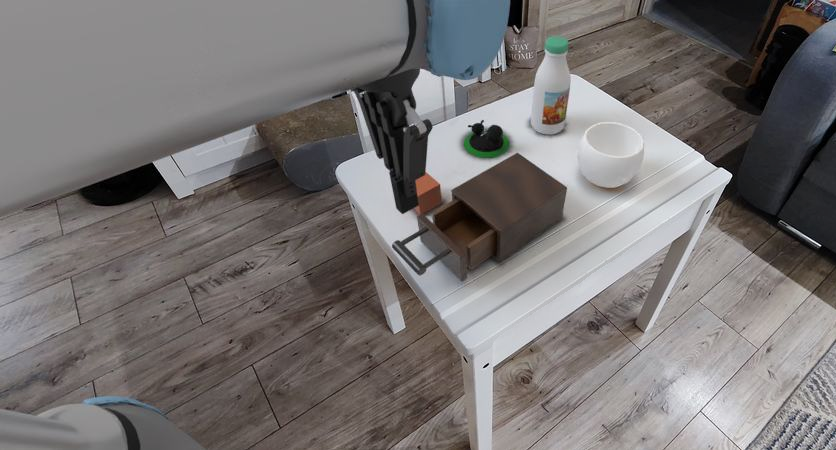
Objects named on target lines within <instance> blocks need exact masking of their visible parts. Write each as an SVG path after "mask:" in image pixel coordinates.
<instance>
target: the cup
mask: <svg viewBox="0 0 836 450" xmlns="http://www.w3.org/2000/svg"><path fill="white" fill-rule="evenodd" d="M644 156H645V140H644V139H643V137H642V135H641V133H640V132H638V131H637V130H636V129H634V128H633V127H632V126H629V125H626V124H624V123H621V122H616V121H601V122H598V123H595V124H592V125H590V126H589V127H588V128H587V129H586V130H585V131H584V133H583V135H582V137H581V139H580V142H579V147H578V151H577V160H578V161H577V162H578V166H579V169H580V172H581V174H582V175H583V177H585V178H586V180H587V181H588V182H589V183H591V184H593V185H595V186H597V187H601V188H606V189H608V188H609V189H611V188H618V187H620V186H623V185H625V184H627V183H629V182H630V181H631V180H632V179H633V178H634V176H636V174H637V173H638V171H639V170H640V169H641V166H642V163H643V160H644Z"/></svg>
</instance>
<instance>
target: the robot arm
mask: <svg viewBox="0 0 836 450" xmlns="http://www.w3.org/2000/svg"><path fill="white" fill-rule="evenodd" d="M510 7H511V0H0V218H4V217H6V216H8V215H12V214H14V213H17V212H19V211H22V210H25V209H28V208H31V207H32V206H36V205H39V204H42V203H44V202H47V201H49V200H52V199H55V198H58V197H60V196H61V197H62V196H64V195H66V194H69V193H72V192H74V191H77V190H80V189H83V188H85V187H88V186H91V185H93V184H96V183H99V182H102V181H104V180H108V179H110V178H113V177H115V176H118V175H121V174H123V173H126V172H129V171H131V170H135V169H138V168H140V167H142V166H143V167H144V166H145V165H149V164H151V163H154V162H156V161H159V160H162V159H164V158H168V157H170V156H174V155H175V154H179V153H182V152H184V151H187V150H189V149H192V148H195V147H197V146H201V145H203V144H206V143H208V142H211V141H214V140H217V139H219V138H223V137H225V136H227V135H230V134H233V133H236V132H240V131H242V130H244V129H247V128H250V127H252V126H255V125H257V124H261V123H263V122H266V121H269V120H272V119H275V118H277V117H280V116H283V115H285V114H288V113H291V112H293V111H296V110H299V109H302V108H305V107H307V106H309V105H313V104H315V103H318V102H321V101H324V100H326V99H329V98H331V97H335V96H337V95H341V94H342V93H346V92H348V91H351V90H353V93H354V95H355V97H356V99H357V101H358V104H359V106H360V110H361V112H362V115H363V116H362V117H363V119H364V121H365V124H366V127H367V130H368V133H369V137H370V140H371V142H372V145H373V148H374V152H375V155H376V157H377V158H378V159H379V160H383V165H384V167H385V168H386V169H387V170H388V173H389V179H390V184H391V190H392V195H393V198H394V203H395V204H394V205H395V209H396V210H397V211H398V212H399V213H400V214H401V215H404V214H406V213H408V212H409V211H412V210H414V209H413V208H415V207H417V206H419V203H418V196H417V188H416V181H415V180H417V179H419V178H421V177H422V176H424V175H425V172H427V159H428V146H429V145H428V144H429V143H428V142H429V135H430V134H431V132H432V130H433V124H432V122H431V120H430V119H429V118H426V119H422V118H421V117H420V116H419V114H418V112H417V111H416V109H417V101H416V99H415V96H414V92H413V89H412V88H413V86H414V84H415V82H416V81H417V79H418V78H419V76H420V73H421V70H424V71H426V72H428V73H430V74H431V75H432V76H436V77H438V78H440V77H447V78H451V79H456V80H461V81H470V80H473V79H477V78H478V77H480V76H482V75H483V74H484V73H485V72H487V70H488V69H489V68H490V66H491V65H492V64H493V63H494V61H495V60H496V58H497V55H498V54H499V52H500V49H501V47H502V44H503V43H504V39H505V36H506V33H507V28H508V23H509V17H510ZM0 450H207V448H205V447H204V446H203V445H201V444H200V443H198V441H196V440H195V439H194V438H193V437H191V436H190V435H189V434H188V433H186V432H185V431H183V430H182V429H181V428H179V427H178V426H177V425H176V424H174V422H172V420H171V419H169V417H167V416H166V414H165V413H164V412H162V411H160V410H159V409H158V408H156V407H154V406H152V405H149V404H146V403H143V402H141V401H140V400H137V399H135V398H131V397H128V396H127V397H126V396H119V395H105V396H96V397H95V396H94V397H89V398H86V399H84V400H83V401H82V402H81V403H68V404H63V405H59V406H55V407H53V408H50V409H47V410H45V411H43V412H41V413H38V414H37V415H34V414H28V413H24V412H19V411H14V410H10V409H5V408H0Z"/></svg>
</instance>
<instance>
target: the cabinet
mask: <svg viewBox="0 0 836 450" xmlns="http://www.w3.org/2000/svg"><path fill="white" fill-rule="evenodd" d="M567 192H568V186H566V185H564V184H563V183H561V182H560V181H559V180H558V179H556V178H555V177H553V176H552V175H551V174H549V173H547V172H546V171H545V170H543V169H542V168H540V167H539V166H538V165H536V164H534V163H533V162H532V161H530V160H529V159H528V158H526V157H525V156H523V155H522V154H521V153H519V152H516V153H514V154H512V155H510V156H508V157H507V158H505V159H503V160H502V161H500V162H498V163H496V164H494V165H493V166H491V167H488V169H486V170H484V171H482V172H480V173H478V174H477V175H475V176H473V177H472V178H470V179H468V180H466V181H465V182H463V183H461V184H459V185H458V186H456V187H454V188H452V189H451V201H453V200H455V199H456V198H458V199H459V200H460V201H462V202H463V203H464V204H465V205H466V206H467V207H469V208H470V209H471V210H472V211H473V212H474V213H476V214H477V215H478V216H479V217H480V218H482V219H483V220H484V221H485V222H486V223H487V224H489V225H490V226H491V227H492V228H493V229H494V230H496V231H497V253H495V254H494V255H492V256H491V257H492V258H493V259H494V260H496V261H497V262H498V263H499V264H500V263H502V262H503V261H504V260H506V259H507V258H509V257H510V256H512V255H513V254H515V253H516V252H517V251H519V250H520V249H521V248H523V247H524V246H526V245H528V244H529V243H530V242H531V241H533V240H534V239H536V238H537V237H539V236H540V235H541V234H543V233H544V232H546V231H547V230H549V229H550V228H551V227H553V226H554V225H555V224H557V223H558V222H561V221H562V220H563V215H564V209H565V203H566V197H567Z"/></svg>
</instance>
